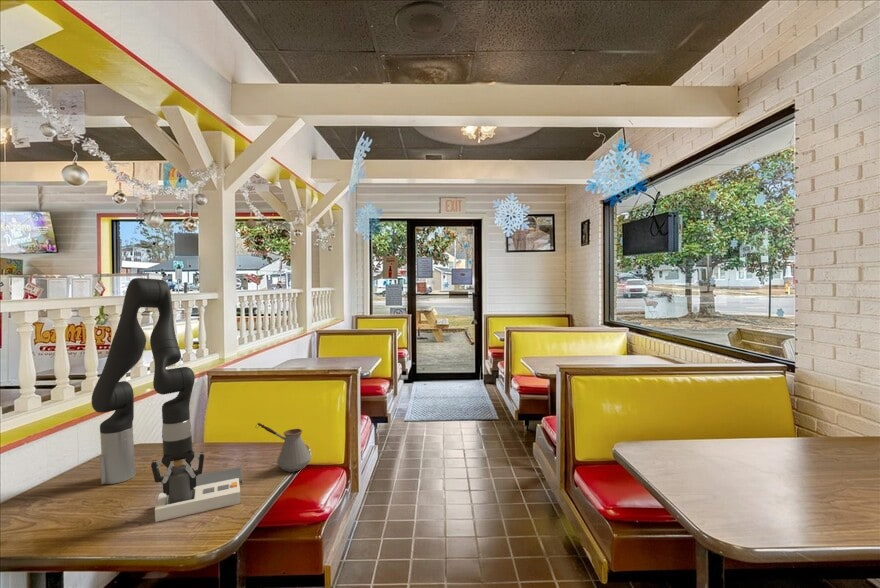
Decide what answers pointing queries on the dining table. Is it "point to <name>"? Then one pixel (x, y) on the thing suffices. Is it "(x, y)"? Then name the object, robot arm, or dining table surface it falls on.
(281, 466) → the coffee pot
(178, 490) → the bottle
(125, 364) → the robot arm
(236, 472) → the mat
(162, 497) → the power strip
